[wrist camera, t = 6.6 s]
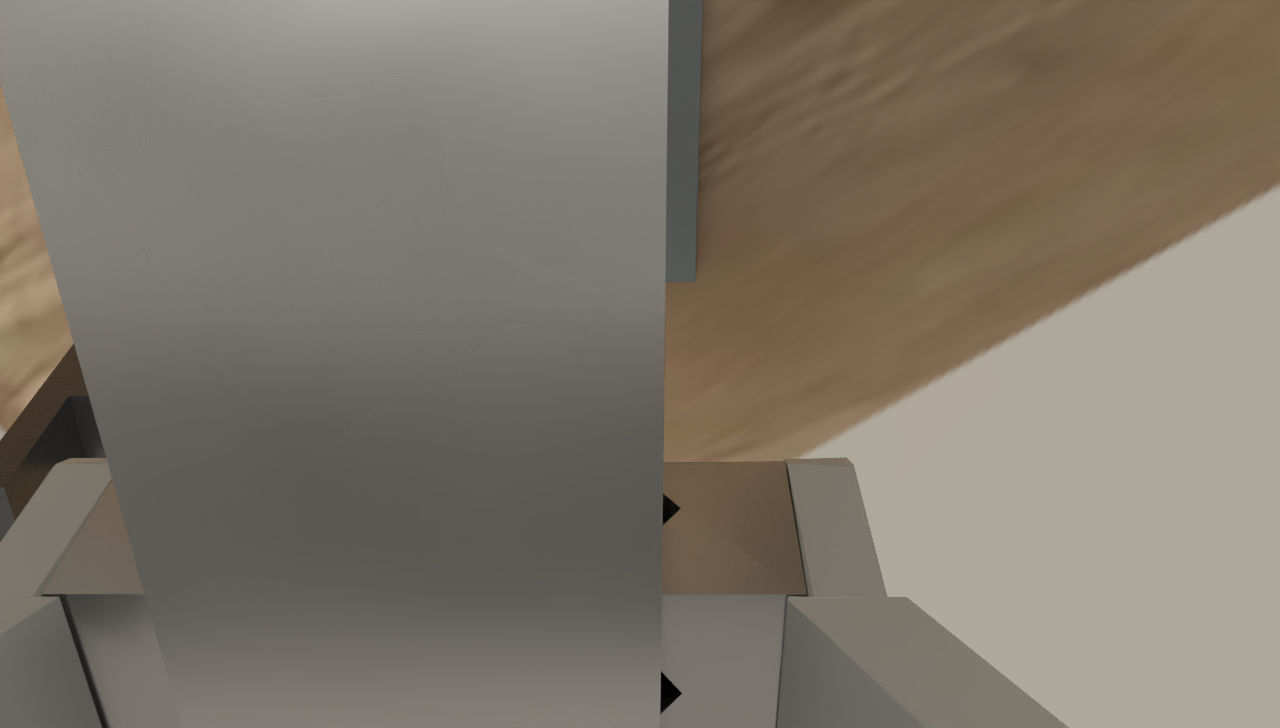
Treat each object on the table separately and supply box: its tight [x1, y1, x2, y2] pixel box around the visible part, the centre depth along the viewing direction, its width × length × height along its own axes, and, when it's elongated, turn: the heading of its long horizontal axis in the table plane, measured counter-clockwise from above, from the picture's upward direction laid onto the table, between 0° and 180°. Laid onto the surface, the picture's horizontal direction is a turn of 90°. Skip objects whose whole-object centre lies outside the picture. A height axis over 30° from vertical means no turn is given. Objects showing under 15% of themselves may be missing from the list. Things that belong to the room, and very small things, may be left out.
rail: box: [0, 0, 669, 728], centre depth 9 cm, size 20×3×3 cm, turn 0°
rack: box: [0, 344, 106, 542], centre depth 27 cm, size 8×22×12 cm, turn 0°
